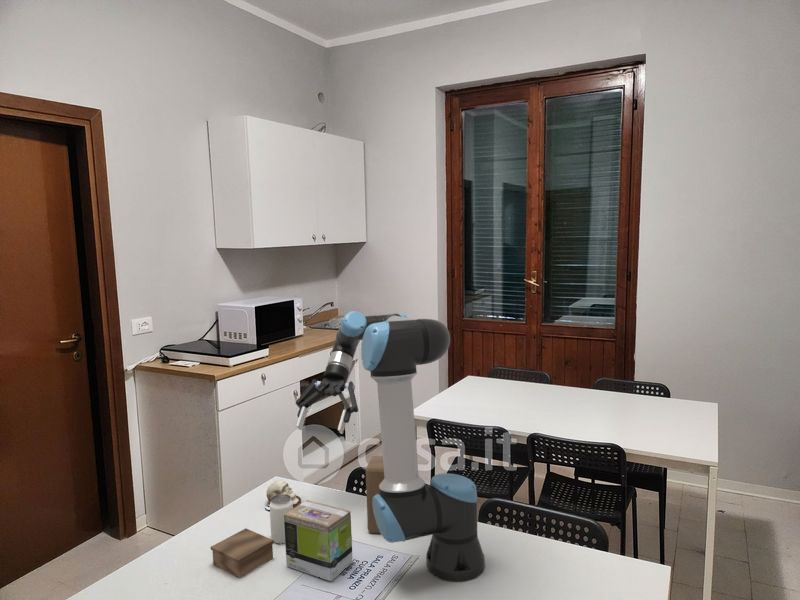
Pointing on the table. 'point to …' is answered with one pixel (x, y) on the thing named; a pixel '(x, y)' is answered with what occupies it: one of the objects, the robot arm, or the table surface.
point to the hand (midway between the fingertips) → (319, 430)
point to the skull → (282, 491)
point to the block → (373, 488)
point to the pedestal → (242, 552)
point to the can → (279, 516)
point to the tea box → (318, 539)
